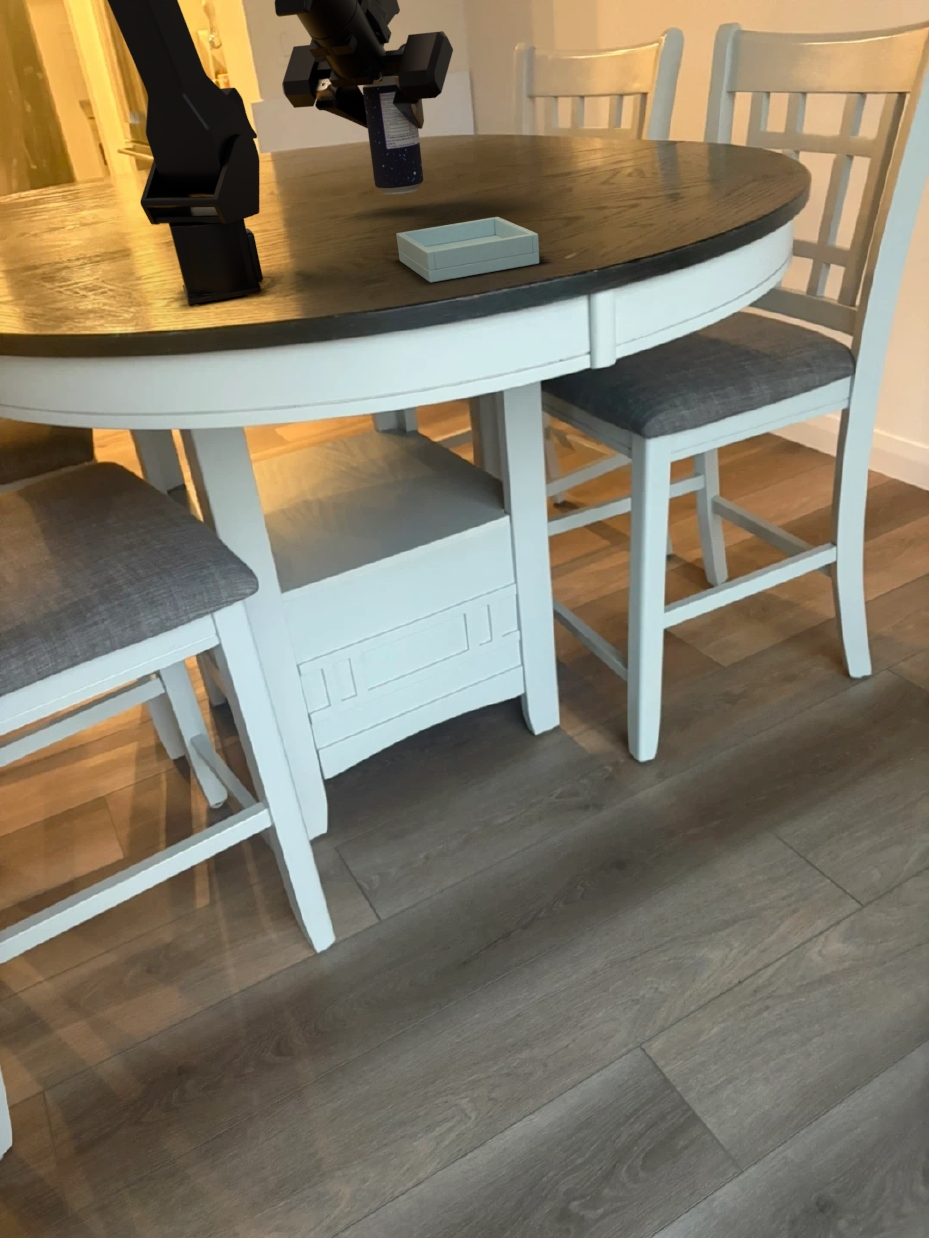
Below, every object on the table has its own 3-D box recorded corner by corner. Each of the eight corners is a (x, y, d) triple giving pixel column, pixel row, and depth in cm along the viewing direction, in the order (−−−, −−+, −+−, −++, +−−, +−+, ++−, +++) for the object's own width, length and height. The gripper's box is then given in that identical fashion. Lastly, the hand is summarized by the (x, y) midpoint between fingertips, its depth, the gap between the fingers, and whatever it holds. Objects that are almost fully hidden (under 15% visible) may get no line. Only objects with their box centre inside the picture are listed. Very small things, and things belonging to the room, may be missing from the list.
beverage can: (427, 185, 108) (415, 68, 102) (420, 193, 104) (407, 71, 97) (380, 189, 109) (366, 73, 102) (371, 197, 104) (355, 76, 98)
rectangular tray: (430, 283, 78) (426, 252, 77) (399, 261, 87) (396, 233, 85) (539, 263, 81) (538, 233, 79) (499, 244, 89) (497, 216, 87)
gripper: (435, -69, 87) (490, 58, 101) (275, -45, 94) (348, 70, 109) (405, 33, 85) (466, 147, 100) (246, 49, 93) (323, 153, 107)
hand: (399, 126), depth 104 cm, fingers closed on beverage can, 5 cm apart
